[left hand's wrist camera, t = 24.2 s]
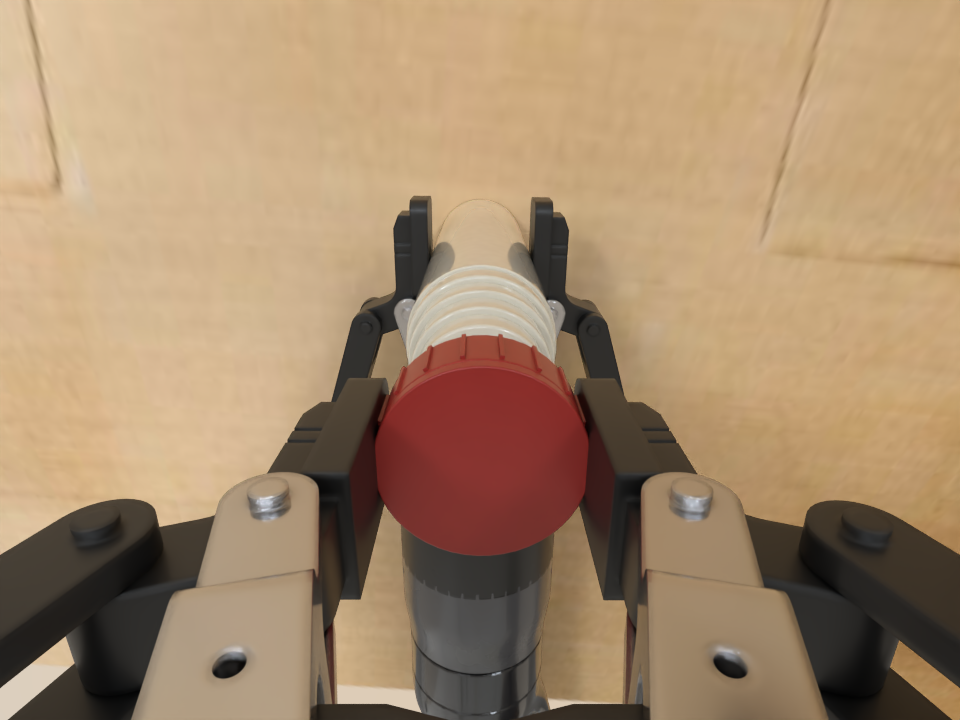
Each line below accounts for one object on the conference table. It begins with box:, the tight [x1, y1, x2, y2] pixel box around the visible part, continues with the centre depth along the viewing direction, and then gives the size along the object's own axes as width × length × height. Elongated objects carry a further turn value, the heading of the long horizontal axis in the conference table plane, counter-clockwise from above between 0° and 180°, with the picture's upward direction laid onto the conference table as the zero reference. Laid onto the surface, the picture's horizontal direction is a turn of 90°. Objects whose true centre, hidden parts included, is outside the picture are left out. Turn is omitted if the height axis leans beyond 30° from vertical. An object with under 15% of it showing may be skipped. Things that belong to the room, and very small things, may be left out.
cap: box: [375, 334, 589, 556], centre depth 11 cm, size 4×4×2 cm
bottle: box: [406, 199, 557, 365], centre depth 21 cm, size 4×4×21 cm
